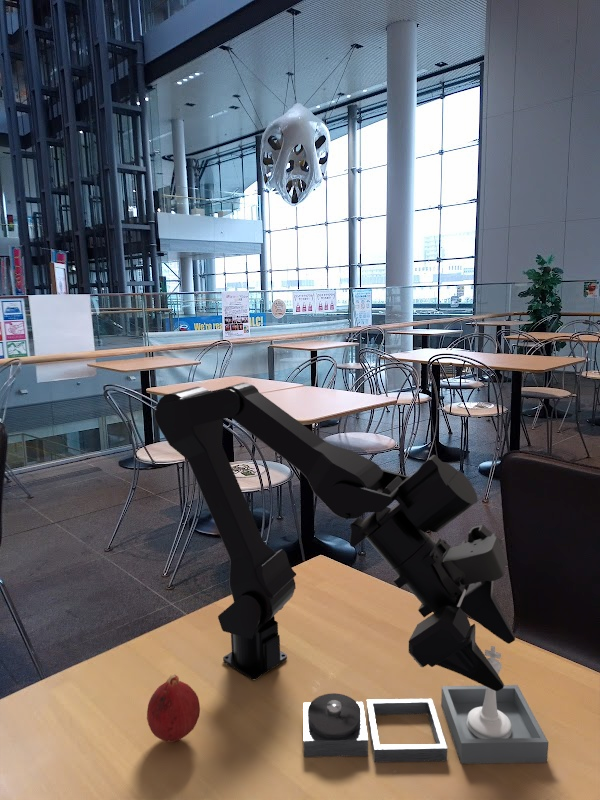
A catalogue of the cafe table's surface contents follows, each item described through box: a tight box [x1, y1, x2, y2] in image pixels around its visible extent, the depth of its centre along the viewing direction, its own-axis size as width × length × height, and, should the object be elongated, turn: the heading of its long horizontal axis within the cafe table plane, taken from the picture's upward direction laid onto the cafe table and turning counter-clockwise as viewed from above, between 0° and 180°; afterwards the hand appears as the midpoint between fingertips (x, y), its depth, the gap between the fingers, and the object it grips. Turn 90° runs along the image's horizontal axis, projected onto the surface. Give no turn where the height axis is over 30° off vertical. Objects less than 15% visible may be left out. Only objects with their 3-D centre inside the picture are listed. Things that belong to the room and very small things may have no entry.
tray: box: [440, 684, 549, 765], centre depth 68 cm, size 9×9×2 cm
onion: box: [146, 673, 201, 743], centre depth 67 cm, size 6×6×8 cm
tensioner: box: [303, 693, 448, 763], centre depth 68 cm, size 15×8×4 cm, turn 90°
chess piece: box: [467, 645, 512, 739], centre depth 67 cm, size 5×5×10 cm
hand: (506, 663), depth 66 cm, fingers open, 9 cm apart
